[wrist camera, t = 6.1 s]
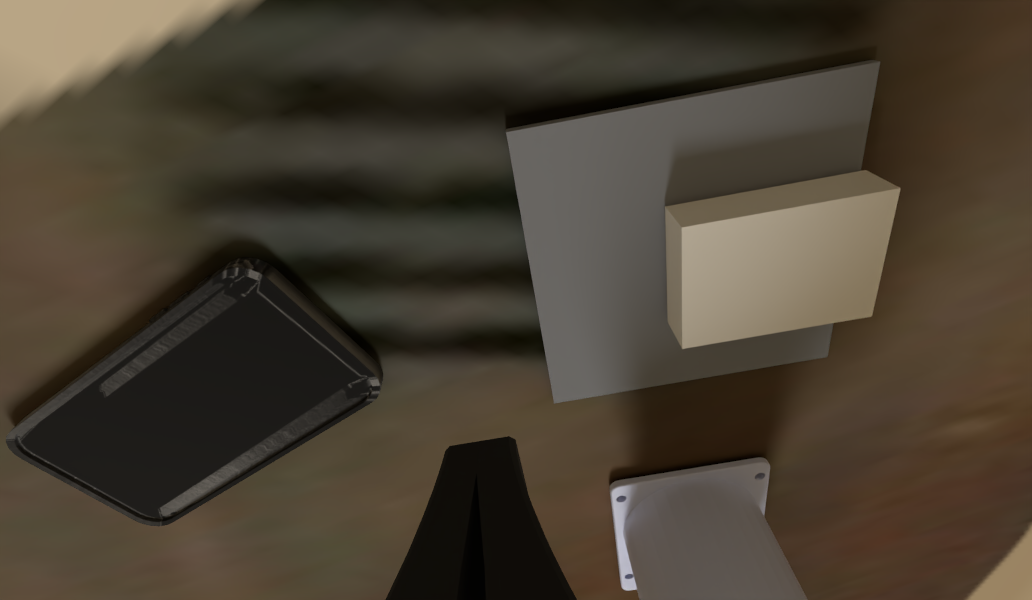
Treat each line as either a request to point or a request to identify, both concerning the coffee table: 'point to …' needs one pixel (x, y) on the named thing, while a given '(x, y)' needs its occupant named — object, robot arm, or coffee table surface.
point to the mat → (641, 217)
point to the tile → (777, 257)
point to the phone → (201, 397)
